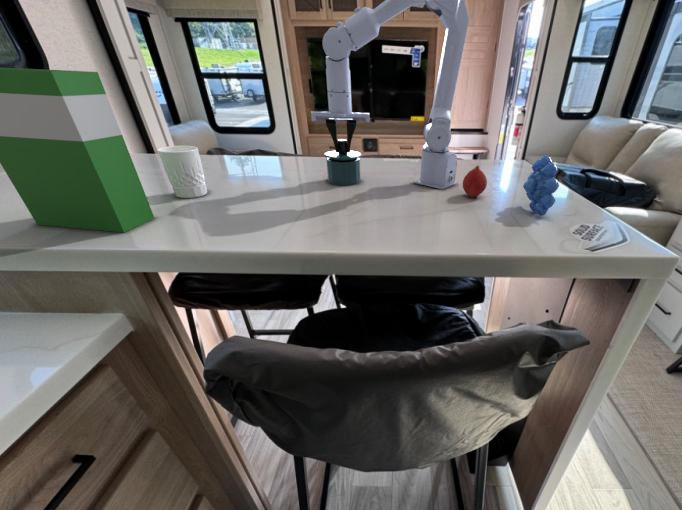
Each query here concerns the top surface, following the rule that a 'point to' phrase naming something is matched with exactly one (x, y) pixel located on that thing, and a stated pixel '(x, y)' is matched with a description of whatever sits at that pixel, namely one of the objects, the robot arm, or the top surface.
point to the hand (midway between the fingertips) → (342, 151)
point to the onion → (474, 182)
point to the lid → (342, 152)
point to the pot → (343, 171)
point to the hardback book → (68, 151)
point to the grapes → (542, 185)
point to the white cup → (184, 170)
